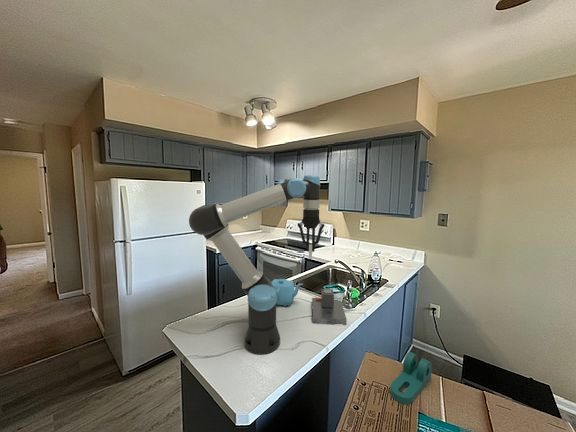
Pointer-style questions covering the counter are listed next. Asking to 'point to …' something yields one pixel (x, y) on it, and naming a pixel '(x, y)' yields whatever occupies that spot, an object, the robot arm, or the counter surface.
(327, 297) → the plug
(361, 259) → the counter surface
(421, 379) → the bracket
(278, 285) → the teapot
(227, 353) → the counter surface
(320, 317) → the socket
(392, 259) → the counter surface
